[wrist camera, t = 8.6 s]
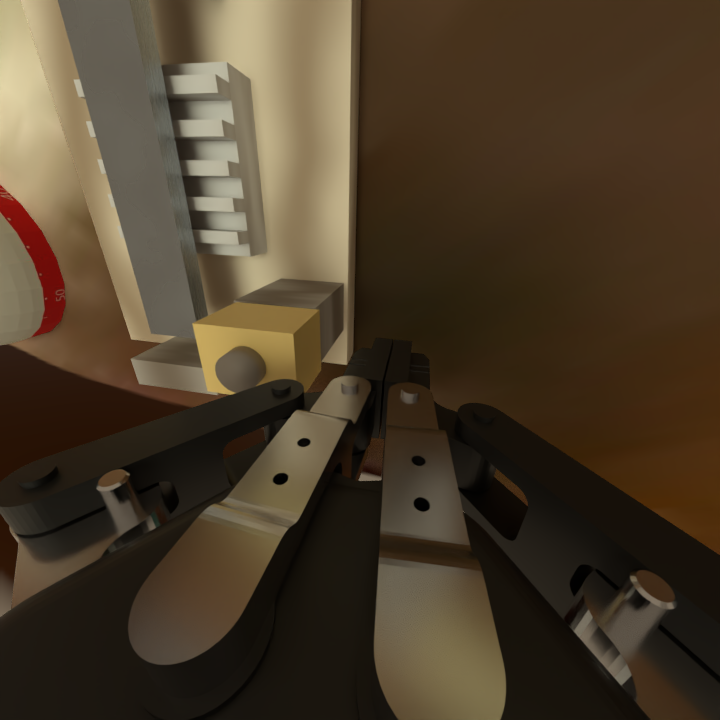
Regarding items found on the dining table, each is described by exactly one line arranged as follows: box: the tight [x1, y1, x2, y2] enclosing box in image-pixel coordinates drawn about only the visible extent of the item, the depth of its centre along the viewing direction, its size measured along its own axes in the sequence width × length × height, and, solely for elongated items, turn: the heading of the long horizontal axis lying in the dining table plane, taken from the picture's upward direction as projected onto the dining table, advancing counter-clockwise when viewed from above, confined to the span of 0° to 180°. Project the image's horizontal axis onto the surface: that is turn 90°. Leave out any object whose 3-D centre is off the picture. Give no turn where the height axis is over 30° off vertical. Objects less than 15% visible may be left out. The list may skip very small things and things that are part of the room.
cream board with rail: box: [20, 0, 361, 395], centre depth 16 cm, size 17×22×8 cm
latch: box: [192, 302, 321, 395], centre depth 13 cm, size 4×3×4 cm
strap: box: [58, 0, 208, 339], centre depth 13 cm, size 3×17×1 cm, turn 178°
